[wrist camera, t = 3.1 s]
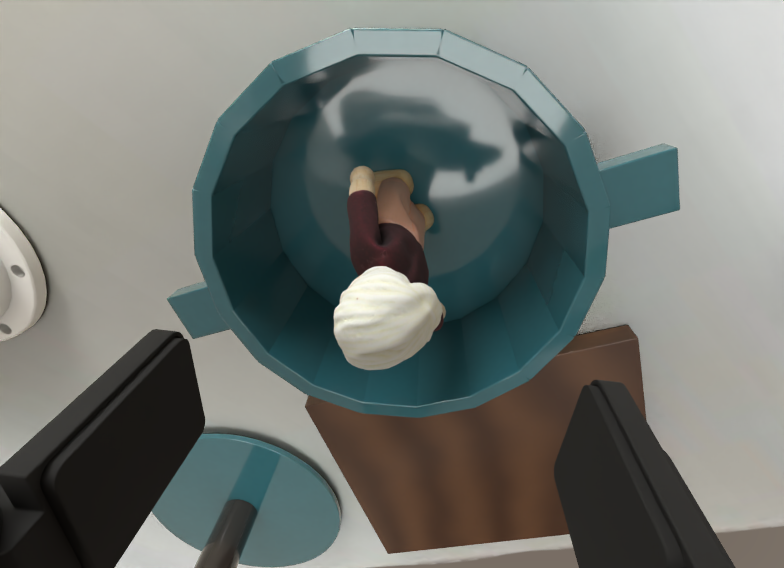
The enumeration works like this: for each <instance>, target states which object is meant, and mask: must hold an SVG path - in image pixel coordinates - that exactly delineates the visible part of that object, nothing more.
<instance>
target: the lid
mask: <svg viewBox="0 0 784 568" xmlns="http://www.w3.org/2000/svg"><path fill="white" fill-rule="evenodd" d="M152 512H153V514H154V515H155V516H156V518H157V519H158V520H159V521H160V522H161V523H162V524H163V525H164V526H165V527H166V528H167V529H168V530H169V531H170V532H171V533H173V534H174V535H175V536H176V537H178V538H179V539H181V540H182V541H184V542H185V543H187V544H189V545H190V546H192V547H194V548H196V549H198V550H200V551H202V552H201V554H200V556H199V559H198V561H197V563H196V565H195V567H194V568H237V565H238V564H243V565H249V566H257V567H284V566H291V565H296V564H300V563H304V562H306V561H309V560H312V559H314V558H316V557H317V556H319V555H321V554H322V553H324V552H325V551H326V550H327V549H328V548H329V547H330V546H331V545H332V544H333V542H334V541H335V539H336V537H337V535H338V532H339V528H340V522H341V513H340V507H339V503H338V500H337V498H336V496H335V494H334V492H333V490H332V489H331V487H330V486H329V485H328V483H327V482H326V481H325V480H324V479H323V478H322V476H321V475H320V474H319V473H318V472H316V471H315V470H314V469H313V468H312V467H311V466H310V465H308V464H307V463H305V462H304V461H302V460H301V459H300V458H298V457H296V456H294V455H293V454H291V453H289V452H287V451H285V450H283V449H281V448H279V447H276V446H274V445H272V444H269V443H266V442H263V441H260V440H257V439H253V438H249V437H244V436H238V435H232V434H219V433H214V434H201V436H200V437H199V439H198V440H197V442H196V443H195V445H194V447H193V448H192V450H191V451H190V453H189V454H188V456H187V457H186V459H185V460H184V462H183V463H182V465H181V466H180V468H179V469H178V471H177V473H176V474H175V476H174V477H173V479H172V480H171V482H170V483H169V485H168V486H167V488H166V489H165V491H164V492H163V494H162V496H161V497H160V499H159V500H158V502H157V503H156V505H155V506H154V508H153V509H152Z"/></svg>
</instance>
